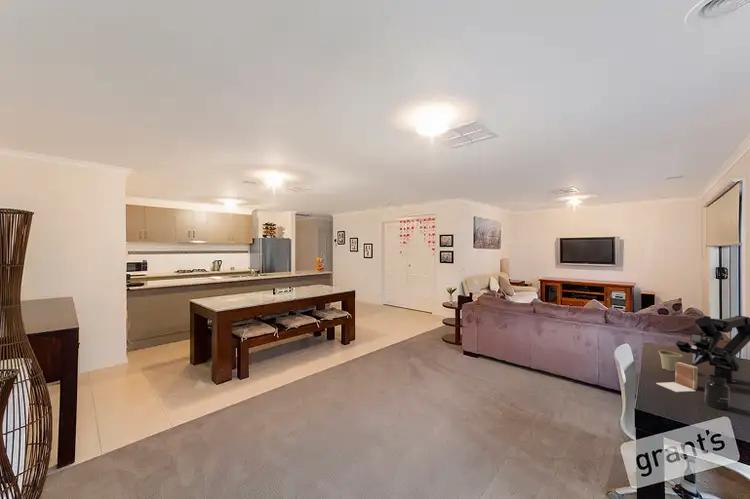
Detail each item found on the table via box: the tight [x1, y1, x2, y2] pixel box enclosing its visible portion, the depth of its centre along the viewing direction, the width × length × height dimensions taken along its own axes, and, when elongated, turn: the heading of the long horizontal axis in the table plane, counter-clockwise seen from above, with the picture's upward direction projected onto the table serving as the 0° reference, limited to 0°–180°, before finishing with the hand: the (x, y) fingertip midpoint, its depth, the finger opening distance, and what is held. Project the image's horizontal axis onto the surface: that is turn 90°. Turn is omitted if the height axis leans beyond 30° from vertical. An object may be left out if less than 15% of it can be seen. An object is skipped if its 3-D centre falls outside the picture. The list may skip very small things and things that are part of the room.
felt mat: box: [655, 381, 697, 393], centre depth 145 cm, size 10×9×1 cm
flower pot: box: [658, 350, 684, 373], centre depth 168 cm, size 9×9×9 cm
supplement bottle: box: [704, 374, 731, 411], centre depth 128 cm, size 7×7×12 cm
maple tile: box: [674, 361, 699, 390], centre depth 147 cm, size 3×7×10 cm, turn 16°
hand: (693, 364), depth 148 cm, fingers closed
